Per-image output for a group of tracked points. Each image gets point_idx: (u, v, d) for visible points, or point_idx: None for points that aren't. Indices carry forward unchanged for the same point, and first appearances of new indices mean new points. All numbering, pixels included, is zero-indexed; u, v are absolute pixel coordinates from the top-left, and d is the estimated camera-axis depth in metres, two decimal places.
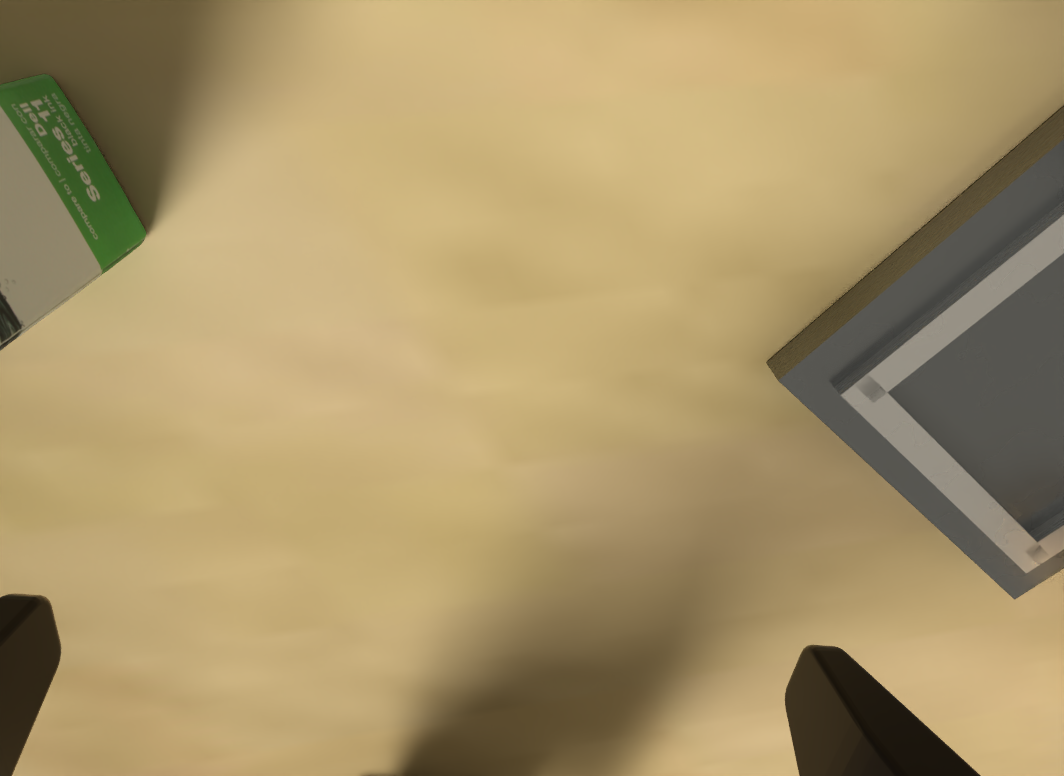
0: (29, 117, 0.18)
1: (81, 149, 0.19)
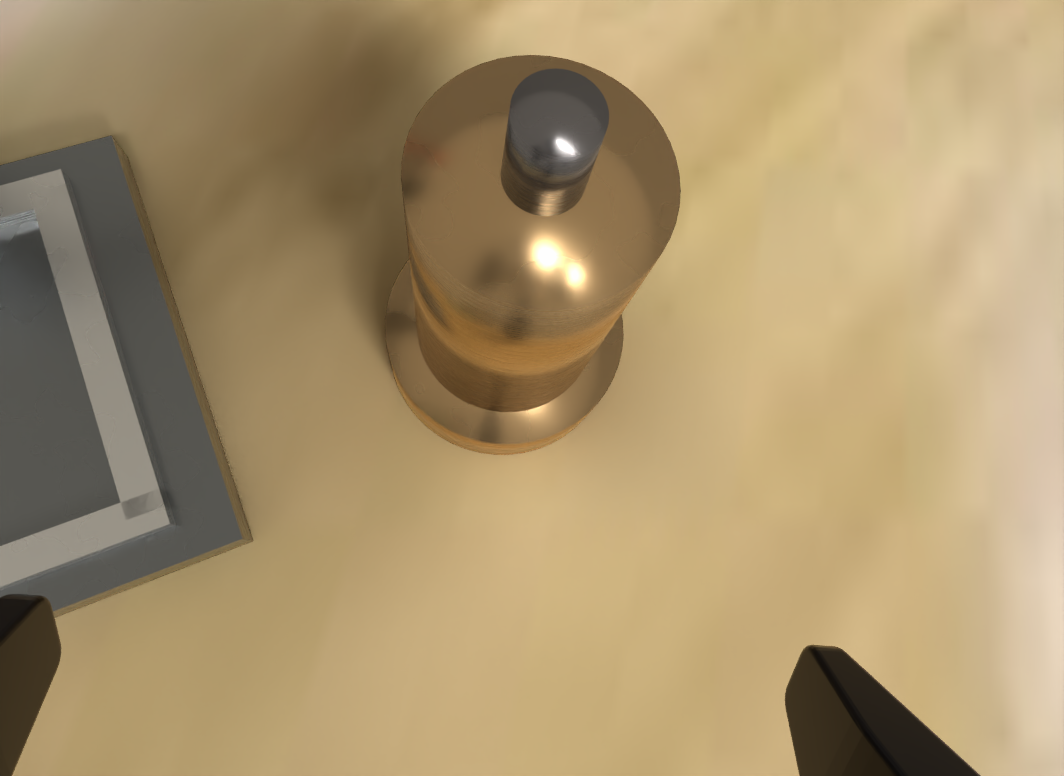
0: None
1: None
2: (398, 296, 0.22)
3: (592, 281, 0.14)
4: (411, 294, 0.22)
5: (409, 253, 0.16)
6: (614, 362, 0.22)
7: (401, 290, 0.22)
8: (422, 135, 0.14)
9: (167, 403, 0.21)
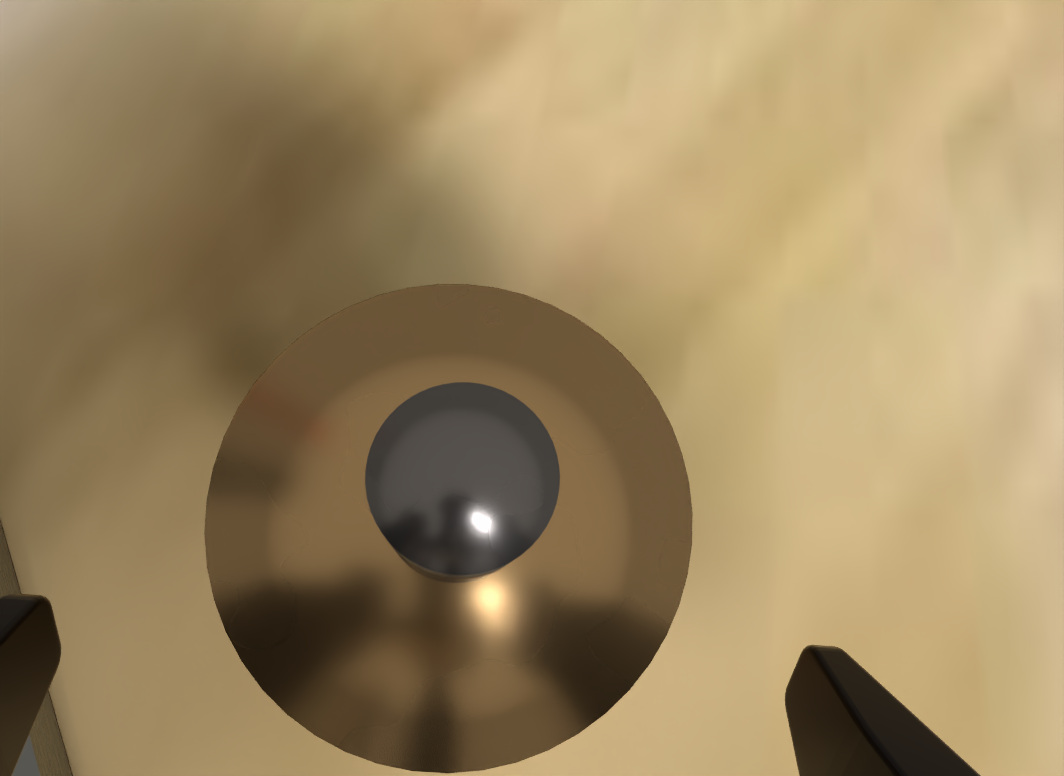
0: None
1: None
2: None
3: (546, 705, 0.08)
4: None
5: None
6: None
7: None
8: (245, 444, 0.08)
9: None
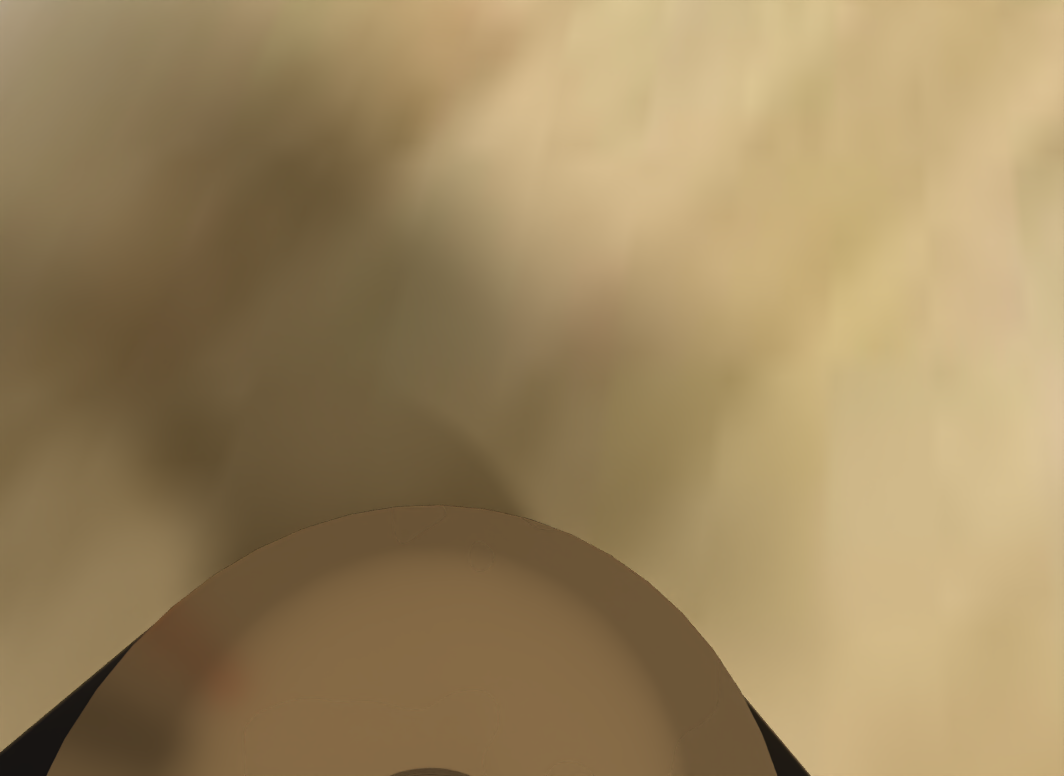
0: None
1: None
2: None
3: None
4: None
5: None
6: None
7: None
8: None
9: None
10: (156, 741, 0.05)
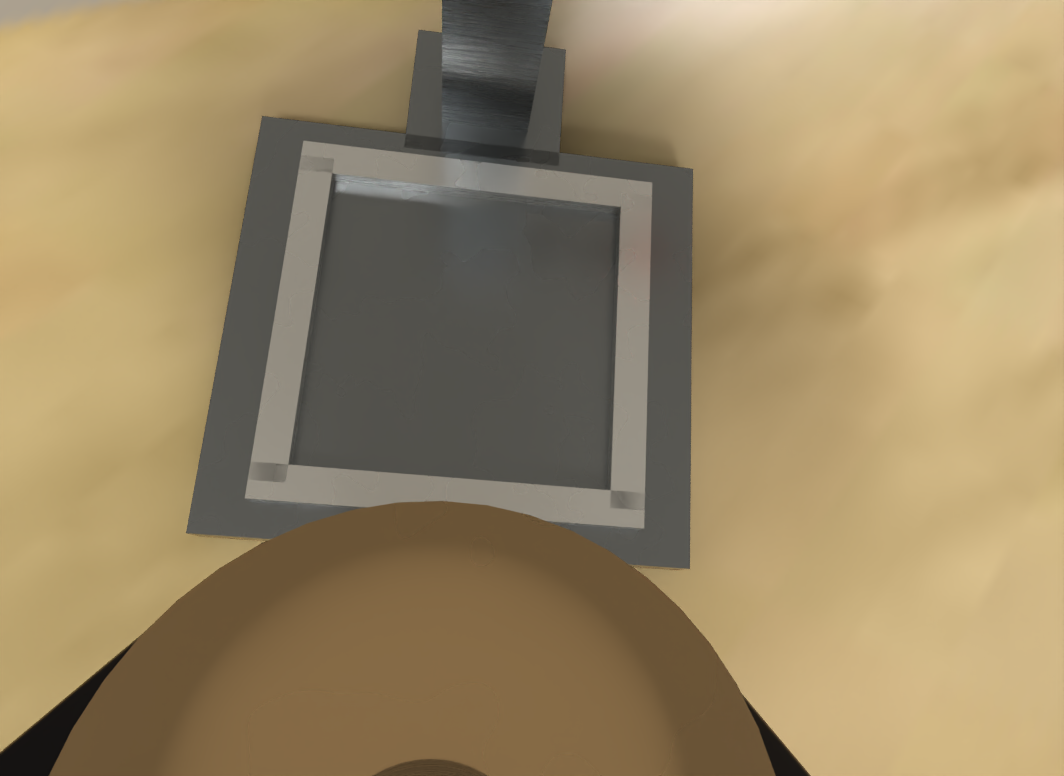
0: None
1: None
2: None
3: None
4: None
5: None
6: None
7: None
8: None
9: (665, 419, 0.23)
10: (161, 731, 0.05)
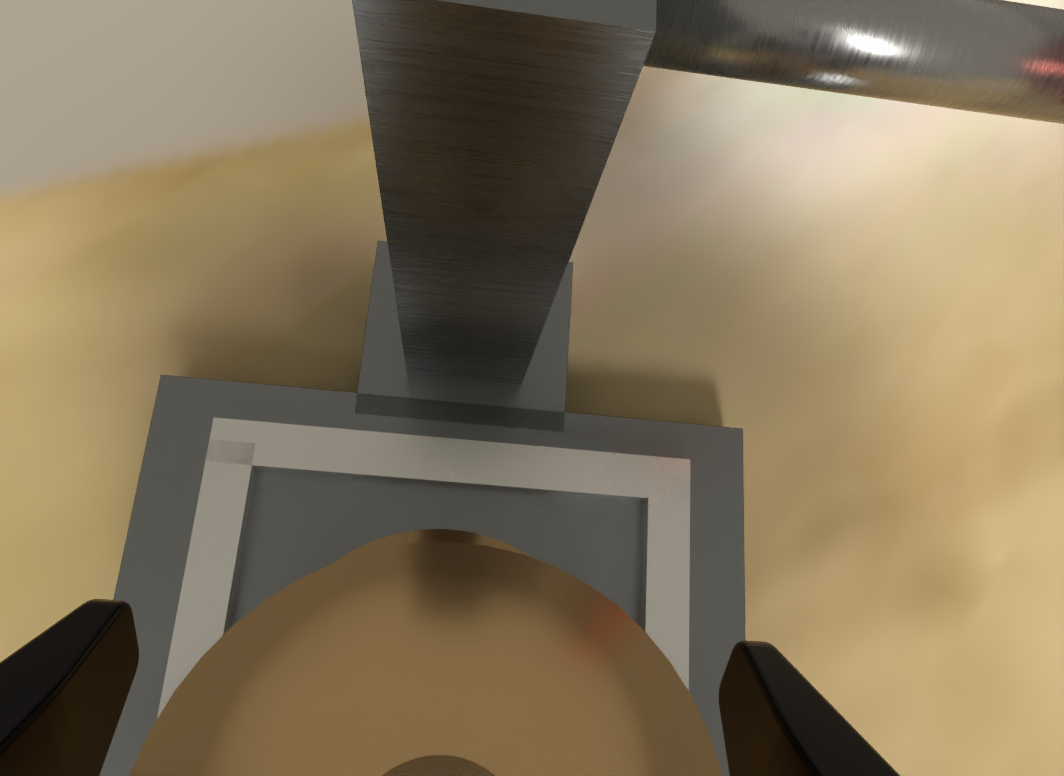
0: None
1: None
2: None
3: None
4: None
5: None
6: None
7: None
8: None
9: None
10: (222, 732, 0.06)
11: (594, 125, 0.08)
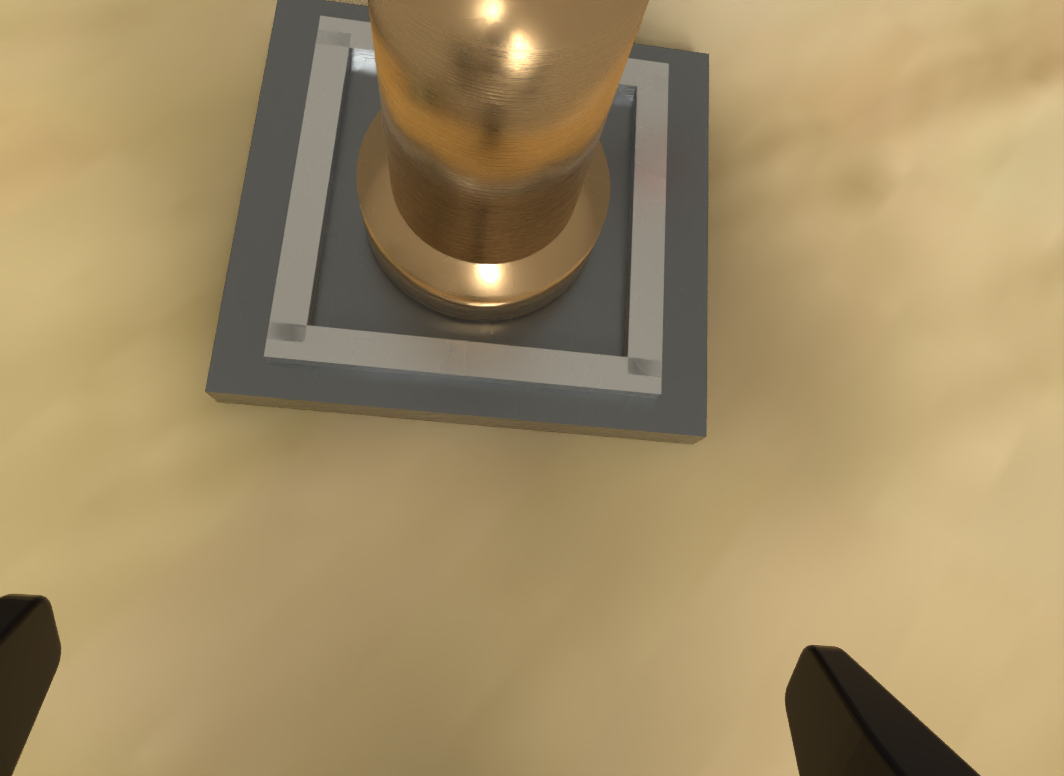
0: None
1: None
2: (369, 147, 0.21)
3: (571, 19, 0.12)
4: (383, 145, 0.21)
5: (372, 34, 0.14)
6: (601, 213, 0.21)
7: (373, 141, 0.21)
8: None
9: (681, 293, 0.23)
10: None
11: None
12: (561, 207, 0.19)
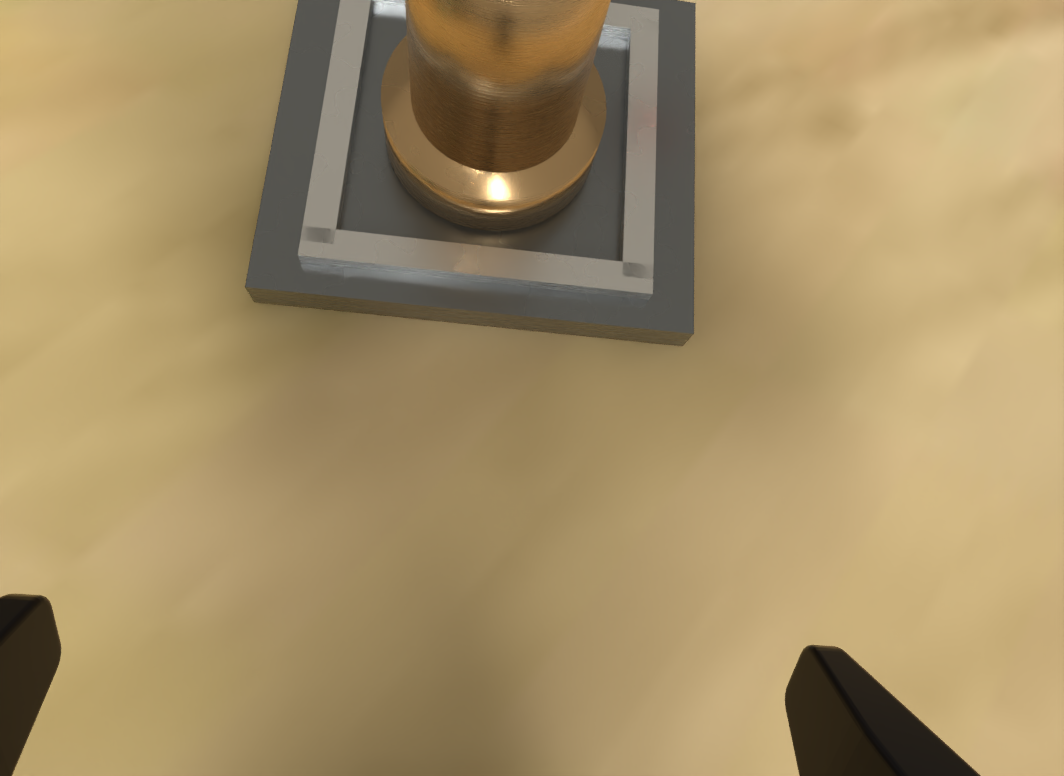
0: None
1: None
2: (392, 71, 0.23)
3: None
4: (405, 69, 0.23)
5: None
6: (598, 131, 0.23)
7: (395, 66, 0.23)
8: None
9: (671, 209, 0.25)
10: None
11: None
12: (563, 114, 0.21)
